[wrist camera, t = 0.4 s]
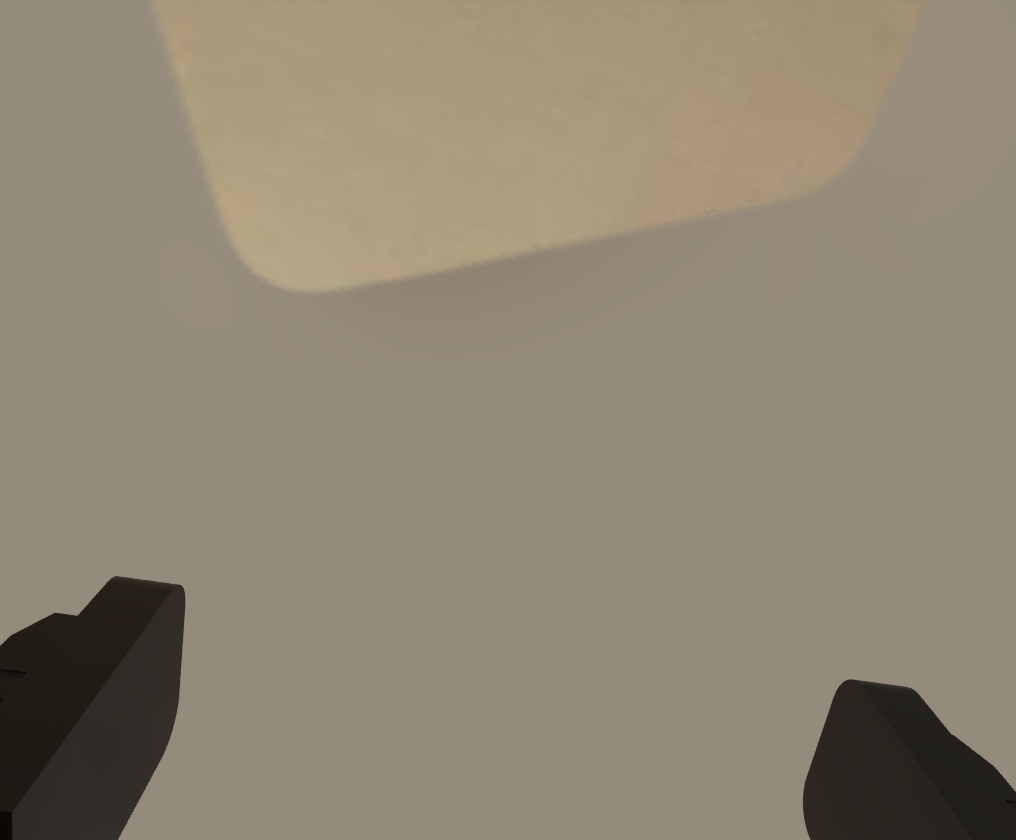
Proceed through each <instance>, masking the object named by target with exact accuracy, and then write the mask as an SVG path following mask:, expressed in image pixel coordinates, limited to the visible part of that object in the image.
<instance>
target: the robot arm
mask: <svg viewBox="0 0 1016 840" xmlns="http://www.w3.org/2000/svg"><path fill="white" fill-rule="evenodd" d="M184 617H185V592H184V588H183V587H182V586H181V585H177V584H170V583H162V582H155V581H148V580H141V579H134V578H127V577H118V576H116V577H113V578H111V579H110V580H109V581H108V582H107V583H106V585H105V586H104V587H103V588H102V589H101V590H100V591H99V592H98V594H97V595H96V596H95V597H94V598H93V599H92V600H91V601H90V602H89V604H88V605H87V606H86V607H85V608H84V609H83V610H82V611H81V613H80V614H79V615H78V616H75V615H68V614H60V613H54V614H52V615H50V616H48V617H46V618H44V619H42V620H40V621H38V622H36V623H34V624H32V625H30V626H28V627H27V628H24V629H23V630H21V631H19V632H17V633H15V634H13V635H11V636H10V637H9V638H8V639H7V640H6V641H5V642H4V643H3V644H2V645H1V646H0V840H118V839H119V836H120V835H121V833H122V831H123V829H124V827H125V825H126V824H127V821H128V820H129V818H130V815H131V814H132V812H133V811H134V809H135V807H136V805H137V803H138V801H139V799H140V797H141V796H142V794H143V792H144V790H145V788H146V786H147V784H148V782H149V781H150V779H151V777H152V775H153V773H154V771H155V770H156V768H157V766H158V764H159V762H160V760H161V758H162V756H163V754H164V752H165V750H166V747H167V745H168V742H169V739H170V736H171V733H172V730H173V726H174V722H175V718H176V713H177V708H178V701H179V690H180V675H181V661H182V645H183V631H184ZM803 811H804V820H805V824H806V828H807V832H808V834H809V837H810V839H811V840H1016V792H1015V791H1014V789H1013V788H1012V787H1011V786H1010V785H1009V783H1008V782H1007V781H1006V780H1005V779H1004V777H1003V776H1002V775H1001V774H1000V773H999V772H998V770H997V769H996V768H995V767H994V766H993V765H991V764H990V763H989V762H987V761H986V760H985V759H984V758H982V757H981V756H980V755H978V754H977V753H976V752H975V751H973V750H972V749H971V748H969V747H968V746H967V745H966V744H964V743H963V742H962V741H960V740H959V739H958V738H957V737H955V736H954V735H951V733H950V732H949V731H948V730H947V729H946V727H945V726H944V725H943V724H942V723H941V721H940V720H939V719H938V717H937V716H936V715H935V714H934V712H933V711H932V710H931V709H930V708H929V706H928V705H927V704H926V703H925V701H924V700H923V699H922V698H921V697H920V695H919V694H918V693H917V692H916V691H914V690H913V689H911V688H908V687H902V686H895V685H888V684H881V683H874V682H867V681H860V680H846V681H844V682H843V683H842V684H841V685H840V686H839V688H838V689H837V691H836V693H835V696H834V698H833V701H832V704H831V707H830V710H829V713H828V716H827V719H826V722H825V725H824V728H823V731H822V733H821V736H820V739H819V742H818V746H817V748H816V751H815V754H814V757H813V760H812V763H811V766H810V769H809V772H808V775H807V778H806V781H805V786H804V793H803Z"/></svg>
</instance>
